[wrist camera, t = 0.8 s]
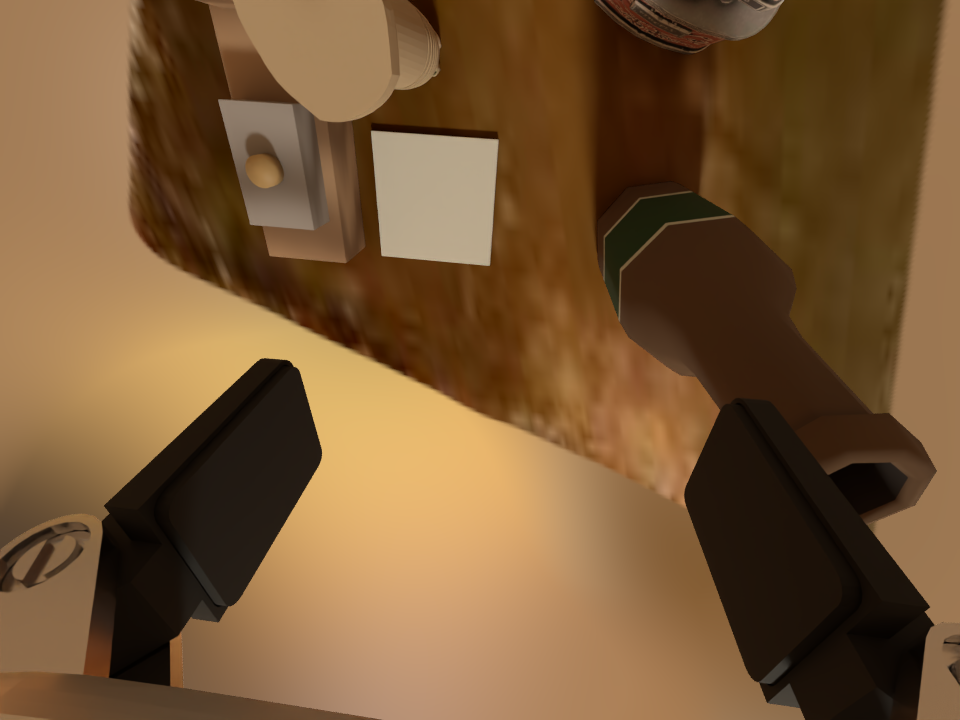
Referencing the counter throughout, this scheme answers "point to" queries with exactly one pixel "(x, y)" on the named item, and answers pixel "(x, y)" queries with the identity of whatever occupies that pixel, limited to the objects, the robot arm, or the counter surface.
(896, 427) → the brown glass bottle
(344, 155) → the body
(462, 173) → the felt pad
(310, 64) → the handle
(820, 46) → the counter surface
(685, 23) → the lighter
